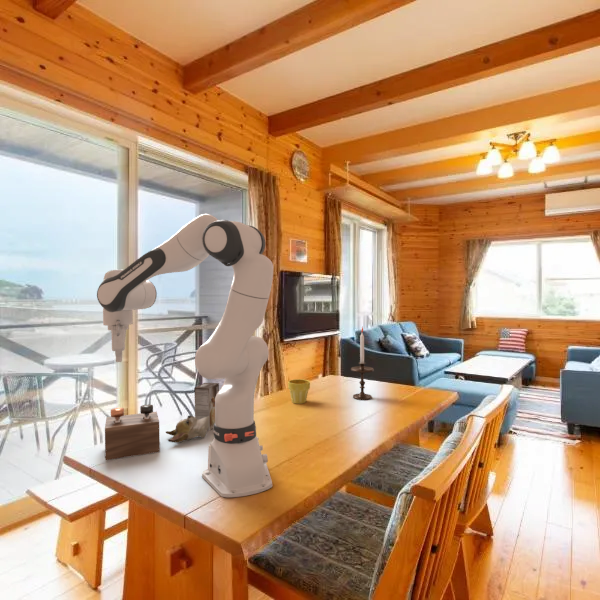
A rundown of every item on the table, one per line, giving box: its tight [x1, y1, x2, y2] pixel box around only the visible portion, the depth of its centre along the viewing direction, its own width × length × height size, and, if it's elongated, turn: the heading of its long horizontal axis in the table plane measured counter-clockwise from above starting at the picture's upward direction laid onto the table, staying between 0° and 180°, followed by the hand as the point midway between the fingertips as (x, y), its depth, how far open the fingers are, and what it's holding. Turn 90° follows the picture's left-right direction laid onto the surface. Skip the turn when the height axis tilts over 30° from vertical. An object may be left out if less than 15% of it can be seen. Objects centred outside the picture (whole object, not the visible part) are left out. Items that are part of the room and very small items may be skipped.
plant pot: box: [287, 378, 311, 405], centre depth 191 cm, size 10×10×10 cm
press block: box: [104, 411, 161, 461], centre depth 134 cm, size 12×16×10 cm
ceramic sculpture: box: [165, 415, 209, 444], centre depth 144 cm, size 11×9×15 cm
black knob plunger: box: [139, 404, 154, 419], centre depth 136 cm, size 4×4×13 cm
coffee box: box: [193, 382, 220, 431], centre depth 157 cm, size 9×6×16 cm
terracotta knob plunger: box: [110, 407, 125, 423], centre depth 132 cm, size 4×4×13 cm
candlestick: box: [350, 326, 375, 401], centre depth 197 cm, size 11×11×35 cm
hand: (119, 361), depth 133 cm, fingers closed
